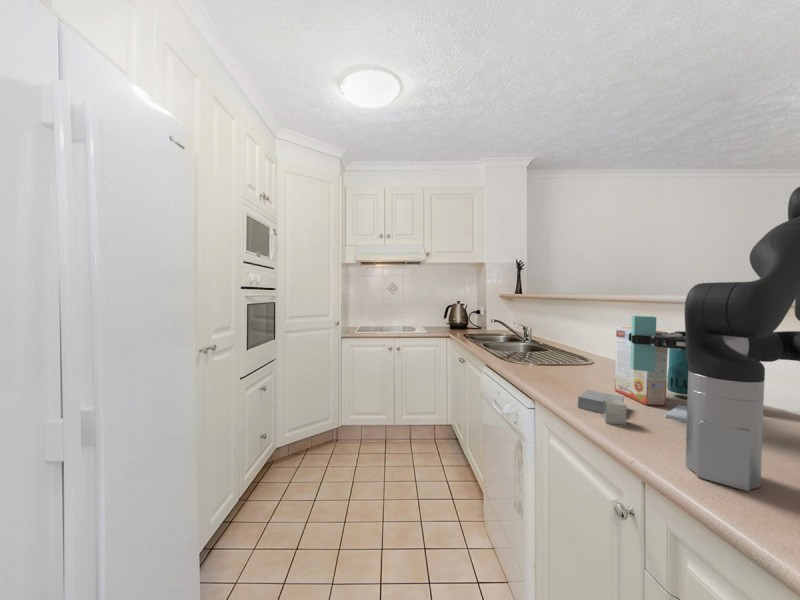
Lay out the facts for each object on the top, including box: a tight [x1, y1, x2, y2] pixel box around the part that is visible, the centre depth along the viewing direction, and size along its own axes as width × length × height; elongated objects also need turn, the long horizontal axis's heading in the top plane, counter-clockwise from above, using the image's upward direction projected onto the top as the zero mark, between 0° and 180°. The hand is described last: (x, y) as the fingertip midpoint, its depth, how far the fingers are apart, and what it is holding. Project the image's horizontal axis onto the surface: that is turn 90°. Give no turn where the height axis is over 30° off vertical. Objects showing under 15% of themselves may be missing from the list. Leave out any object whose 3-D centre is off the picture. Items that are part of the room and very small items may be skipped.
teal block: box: [631, 315, 657, 372], centre depth 85 cm, size 4×4×14 cm
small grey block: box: [602, 398, 627, 427], centre depth 78 cm, size 4×4×5 cm
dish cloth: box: [665, 404, 687, 423], centre depth 82 cm, size 12×8×1 cm, turn 127°
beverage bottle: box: [666, 330, 689, 396], centre depth 98 cm, size 6×7×20 cm
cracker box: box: [614, 326, 669, 406], centre depth 96 cm, size 14×6×21 cm, turn 178°
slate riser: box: [577, 389, 625, 414], centre depth 88 cm, size 9×9×3 cm
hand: (630, 338), depth 86 cm, fingers closed on teal block, 4 cm apart
